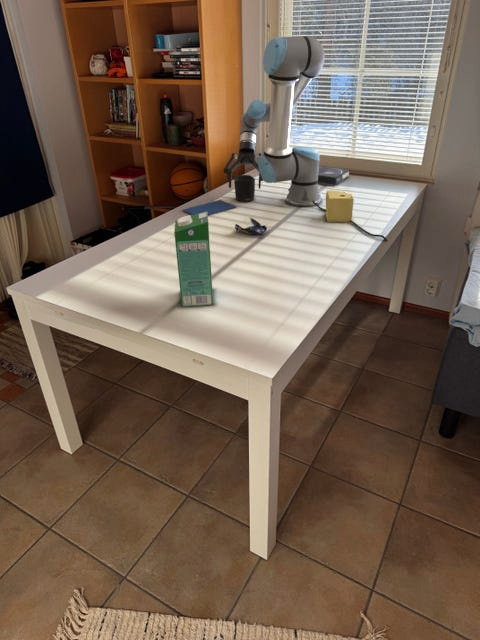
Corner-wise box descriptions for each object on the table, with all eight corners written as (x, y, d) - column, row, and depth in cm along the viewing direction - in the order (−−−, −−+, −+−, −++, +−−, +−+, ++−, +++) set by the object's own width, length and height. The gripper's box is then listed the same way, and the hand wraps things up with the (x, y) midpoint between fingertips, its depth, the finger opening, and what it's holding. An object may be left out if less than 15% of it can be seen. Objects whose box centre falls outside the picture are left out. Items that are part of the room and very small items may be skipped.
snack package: (249, 225, 189) (229, 232, 182) (251, 210, 185) (231, 217, 178) (272, 237, 183) (252, 245, 176) (274, 222, 179) (254, 230, 172)
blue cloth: (235, 207, 208) (235, 206, 207) (198, 218, 197) (198, 216, 197) (219, 201, 216) (219, 199, 215) (183, 210, 205) (183, 209, 205)
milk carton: (182, 291, 142) (174, 212, 129) (212, 290, 143) (207, 210, 130) (181, 306, 135) (173, 223, 121) (213, 304, 135) (208, 222, 122)
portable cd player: (336, 185, 232) (336, 177, 230) (304, 181, 240) (305, 173, 238) (348, 177, 243) (349, 169, 241) (318, 173, 251) (319, 166, 249)
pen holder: (231, 201, 215) (231, 179, 209) (238, 195, 222) (238, 174, 217) (251, 203, 212) (251, 181, 206) (257, 197, 219) (257, 175, 214)
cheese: (349, 213, 197) (351, 190, 192) (352, 222, 188) (354, 198, 183) (324, 213, 198) (326, 190, 193) (325, 222, 189) (327, 198, 184)
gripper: (274, 149, 220) (272, 191, 216) (222, 149, 223) (218, 190, 218) (274, 140, 213) (271, 183, 208) (219, 140, 216) (216, 182, 211)
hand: (244, 186), depth 213 cm, fingers open, 13 cm apart
